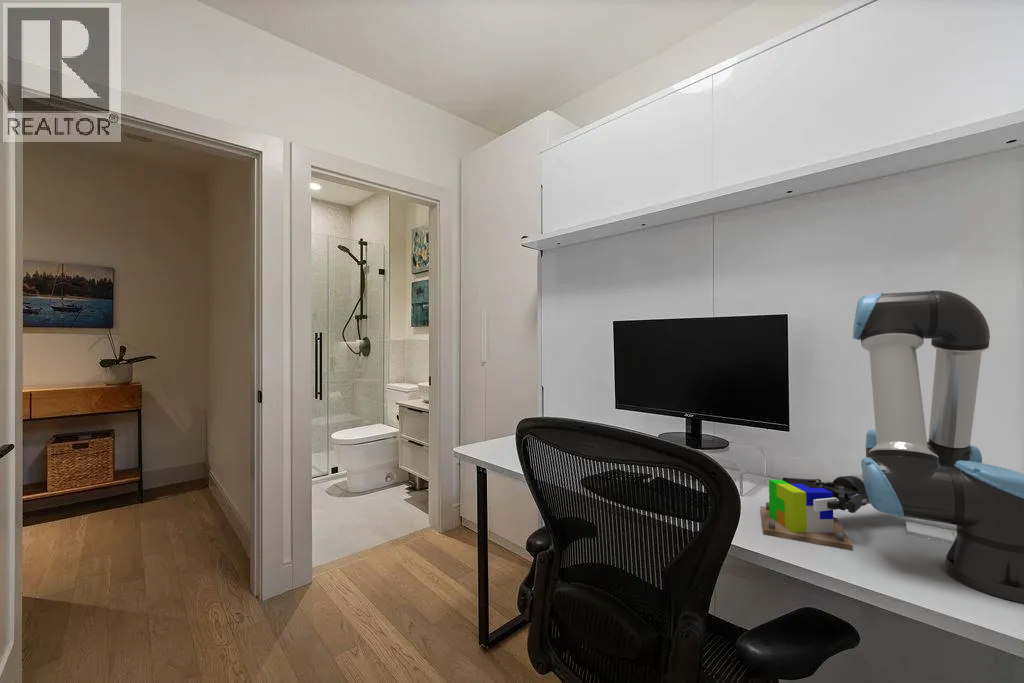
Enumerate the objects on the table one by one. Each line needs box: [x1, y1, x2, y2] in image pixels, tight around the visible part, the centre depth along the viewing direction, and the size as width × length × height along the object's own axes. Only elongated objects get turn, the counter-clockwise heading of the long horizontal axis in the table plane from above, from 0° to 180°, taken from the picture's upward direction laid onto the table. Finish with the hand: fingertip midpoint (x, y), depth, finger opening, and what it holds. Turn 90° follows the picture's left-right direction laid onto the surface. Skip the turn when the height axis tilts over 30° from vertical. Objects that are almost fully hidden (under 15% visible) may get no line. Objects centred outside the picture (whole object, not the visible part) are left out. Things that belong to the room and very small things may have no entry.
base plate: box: [760, 501, 854, 551], centre depth 110 cm, size 18×18×3 cm
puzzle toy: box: [768, 479, 834, 533], centre depth 110 cm, size 10×10×10 cm
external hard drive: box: [905, 520, 957, 545], centre depth 106 cm, size 2×8×12 cm
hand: (790, 495), depth 110 cm, fingers open, 13 cm apart
